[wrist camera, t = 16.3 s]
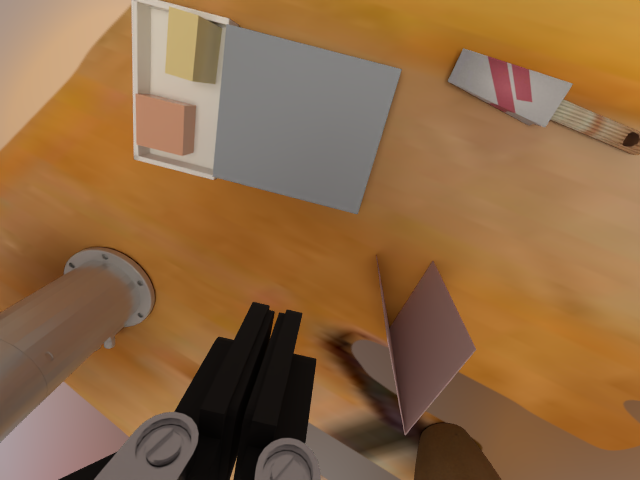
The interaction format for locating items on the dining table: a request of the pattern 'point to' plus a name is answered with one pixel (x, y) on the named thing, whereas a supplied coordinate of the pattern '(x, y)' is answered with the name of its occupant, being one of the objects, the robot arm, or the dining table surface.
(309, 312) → the dining table surface
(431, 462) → the plant pot
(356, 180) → the slate board
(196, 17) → the tile mustard
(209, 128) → the tray
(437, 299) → the greeting card
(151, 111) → the salmon pink block
